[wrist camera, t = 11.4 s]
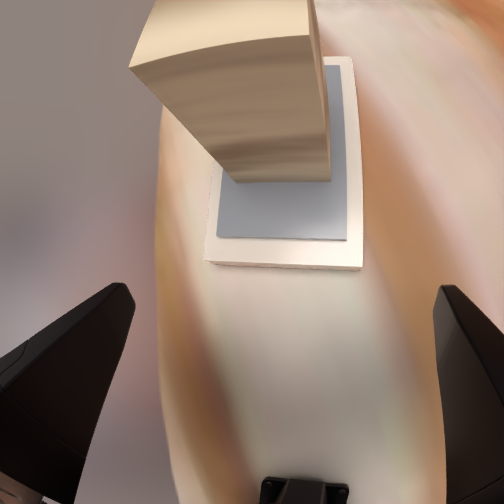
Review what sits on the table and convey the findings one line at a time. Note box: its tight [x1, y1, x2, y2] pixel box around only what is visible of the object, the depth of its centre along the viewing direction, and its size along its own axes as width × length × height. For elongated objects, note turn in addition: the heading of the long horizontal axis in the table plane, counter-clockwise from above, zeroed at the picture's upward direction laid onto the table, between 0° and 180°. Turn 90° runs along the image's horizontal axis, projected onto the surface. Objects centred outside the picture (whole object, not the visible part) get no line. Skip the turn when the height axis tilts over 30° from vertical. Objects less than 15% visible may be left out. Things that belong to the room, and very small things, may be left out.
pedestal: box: [203, 56, 363, 271], centre depth 21 cm, size 16×10×3 cm, turn 176°
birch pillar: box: [129, 0, 331, 183], centre depth 14 cm, size 6×6×12 cm
